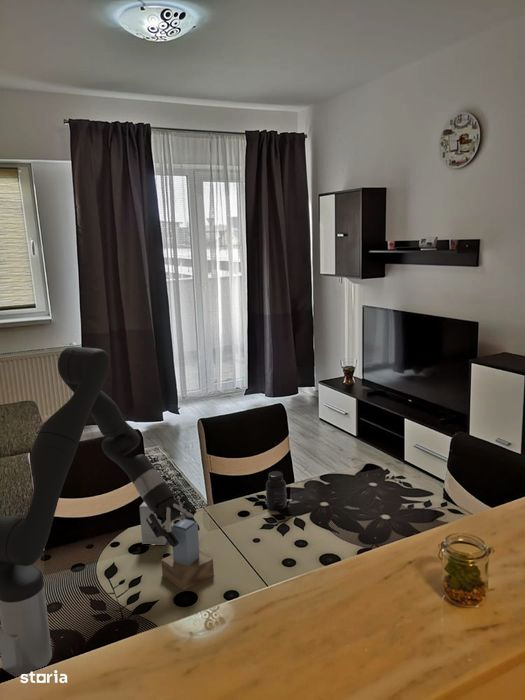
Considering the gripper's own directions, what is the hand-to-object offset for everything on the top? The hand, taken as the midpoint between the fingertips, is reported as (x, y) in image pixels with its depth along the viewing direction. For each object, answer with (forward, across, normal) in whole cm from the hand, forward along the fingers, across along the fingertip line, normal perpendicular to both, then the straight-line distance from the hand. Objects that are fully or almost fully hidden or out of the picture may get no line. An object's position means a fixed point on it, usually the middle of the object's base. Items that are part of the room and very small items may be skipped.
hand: (187, 538), depth 151 cm
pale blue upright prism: (+4, 0, +5) cm, 6 cm away
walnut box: (+8, 0, +9) cm, 11 cm away
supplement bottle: (+7, +47, +9) cm, 48 cm away
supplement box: (-7, +10, +23) cm, 27 cm away
